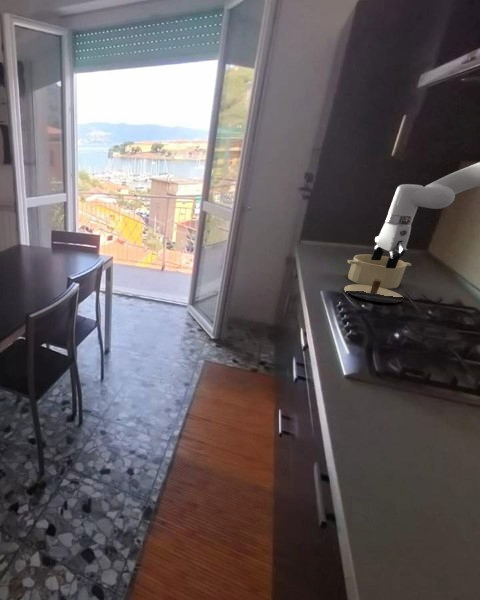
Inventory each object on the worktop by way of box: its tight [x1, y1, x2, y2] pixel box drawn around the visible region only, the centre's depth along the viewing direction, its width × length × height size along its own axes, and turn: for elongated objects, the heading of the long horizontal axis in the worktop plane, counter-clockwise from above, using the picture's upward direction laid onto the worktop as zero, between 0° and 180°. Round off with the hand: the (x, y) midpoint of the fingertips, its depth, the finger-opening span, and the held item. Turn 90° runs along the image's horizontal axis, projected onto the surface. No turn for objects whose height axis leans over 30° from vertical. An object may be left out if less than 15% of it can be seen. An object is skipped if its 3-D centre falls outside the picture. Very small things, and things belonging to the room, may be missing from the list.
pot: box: [347, 253, 413, 290], centre depth 155 cm, size 18×23×10 cm
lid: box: [343, 279, 403, 297], centre depth 141 cm, size 19×19×7 cm
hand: (382, 263), depth 137 cm, fingers open, 9 cm apart
